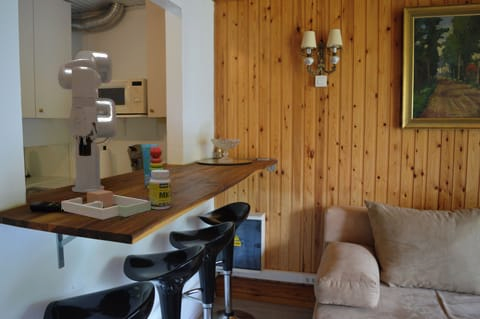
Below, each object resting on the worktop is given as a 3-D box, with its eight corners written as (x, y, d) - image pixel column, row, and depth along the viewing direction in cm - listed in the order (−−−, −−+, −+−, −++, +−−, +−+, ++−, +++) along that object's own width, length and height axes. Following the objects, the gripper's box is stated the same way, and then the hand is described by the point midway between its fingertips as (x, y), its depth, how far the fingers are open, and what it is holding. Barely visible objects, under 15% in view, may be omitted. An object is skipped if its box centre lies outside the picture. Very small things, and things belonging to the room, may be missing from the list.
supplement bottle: (160, 210, 121) (159, 172, 120) (144, 207, 125) (144, 170, 123) (175, 206, 127) (175, 170, 126) (159, 204, 131) (159, 168, 130)
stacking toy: (154, 187, 164) (154, 145, 162) (169, 188, 161) (169, 146, 159) (143, 190, 156) (143, 146, 154) (159, 191, 153) (159, 147, 152)
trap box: (60, 210, 119) (60, 201, 119) (103, 200, 134) (103, 192, 134) (109, 221, 107) (109, 211, 107) (150, 209, 122) (150, 201, 122)
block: (87, 206, 126) (86, 192, 125) (101, 203, 131) (101, 189, 130) (98, 208, 123) (98, 194, 122) (113, 205, 128) (112, 191, 127)
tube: (157, 184, 172) (157, 143, 170) (158, 185, 168) (158, 144, 166) (141, 184, 170) (141, 143, 168) (142, 186, 165) (141, 144, 163)
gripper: (60, 102, 127) (61, 155, 129) (89, 102, 120) (90, 158, 122) (79, 104, 134) (80, 153, 136) (107, 103, 126) (108, 156, 128)
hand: (85, 155), depth 129 cm, fingers closed
